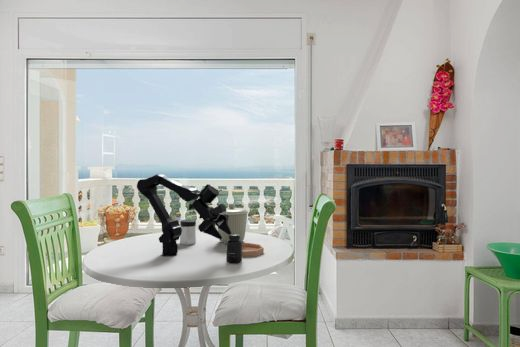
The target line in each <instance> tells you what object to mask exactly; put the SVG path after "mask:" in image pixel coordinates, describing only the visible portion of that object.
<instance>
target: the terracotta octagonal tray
mask: <svg viewBox="0 0 520 347" xmlns="http://www.w3.org/2000/svg"><path fill="white" fill-rule="evenodd" d="M225 248H227V246H226V247H225ZM262 254H264V247H263V245H261V244H258V243H251V242H250V243H249V242H242V258H249V257H250V258H251V257H258V256H260V255H262Z"/></svg>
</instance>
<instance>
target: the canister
mask: <svg viewBox="0 0 520 347" xmlns="http://www.w3.org/2000/svg"><path fill="white" fill-rule="evenodd" d="M227 206H228V207H226V210H227V211H225V212H222V213H220V215H221V214H227V215H228V216H229V219H228V226H229V228H230V231H231V233H232V234H234V233H235V234H240V240H241V241H242V242H243V241H244V240H245V236H246V230H247V229H246V228H247V222H248V221H247V220H248V213H249V211H248V210H247V209H245V208H243V207H236V204H235V203H234V202H230V203H228V205H227ZM217 218H218V217H217ZM216 228H217V230H218V232H219V233H220V235H221V236H222V239H219V241H220V242H221V243H223V244H227V241H228V240H229V235H228V234H227V233H225V232H224V231H222V230H221V229H219V228H218V226H216Z"/></svg>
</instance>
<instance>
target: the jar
mask: <svg viewBox="0 0 520 347" xmlns="http://www.w3.org/2000/svg"><path fill="white" fill-rule="evenodd" d="M179 224H180V225H181V226H182V227H181V229H182V233H181V235H180V237H179V245H185V246H188V245H189V246H190V245H196V242H197V221H196V220H195V219H182V220H180V221H179Z"/></svg>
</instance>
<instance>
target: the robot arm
mask: <svg viewBox="0 0 520 347" xmlns="http://www.w3.org/2000/svg"><path fill="white" fill-rule="evenodd" d="M159 185H161V186H162V187H164V188H166V189H168V190H170V191H172V192H174V193H176V194H177V195H178V196H179V198H180V199H181V200H183V201H185V202H186V203H187V202H191V203H189V204H188V210H189V211H190V210H195V212H196V213H197V214H198V215H199V216H198V218H199V219H200V220H201V219H202V221H201V223H200V224H199V225H198V231H199V232H200V233H203V234H206V235H210V236H212V237H214V238H216V239H218V240H220V239H222V236H221V235H220V233H219V232H218V228H219V229H221V230H222V231H224V232H225V233H227V234H228V235H229V234H232V233H231V231H230V228H229V226H228V219H229V216H228V215H227V214H221V215H220V213H222V212H225V211H227V210H226V208H228V207H227V206H228V205H226V204H224V203H223V202H222V203H219V204H218V205H217V206H215V207H212V206H211V207H210V206H209V204H212V202H213V201H214V200H216V198H217V197H218V196H219V195H220V192H219V190H218V189H217V188H216V187H214V186H212V185H211V184H210V183H209V184H206V185H205V186H204V188H202V190H201V191H200V190H198V188H195V187H192V186H189V185H183V184H182V183H179V182H177V181H175V180H173V179H172V178H169V177H167V176H166V175H165V174H162V173H161V174H160V173H159V174H158V173H157V174H155V175H152V176H151V177H148V178H144V179H139V180H138V181H137V183H136V189H137V190H138V192H139V193H140V195H142V196H143V197H145V198H146V199H147V200H148V202H149V204H150V205H151V207H152V209H153V211H154V213H155V214H156V216H157V218H158V220H159V221H160V223H161V231H162V234H161V235H160V236H159V237H158V242H159V243H161V244H162V251H161V252H162V254H161V256H162V257H171V256H177V255H178V253H179V248H178V246H179V245H178V242H177V241H180V235H181V233H182V229H181V227H182V226H181V225H180V221H179V220H178V219H175V220H174V219H172V218H171V216H170V214H169V212H168V211H167V209H166V207H165V204H163V202H162V200H161V198H160V197H159V195H158V188H157V187H158V186H159ZM217 217H218V218H217ZM217 226H218V227H217Z"/></svg>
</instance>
